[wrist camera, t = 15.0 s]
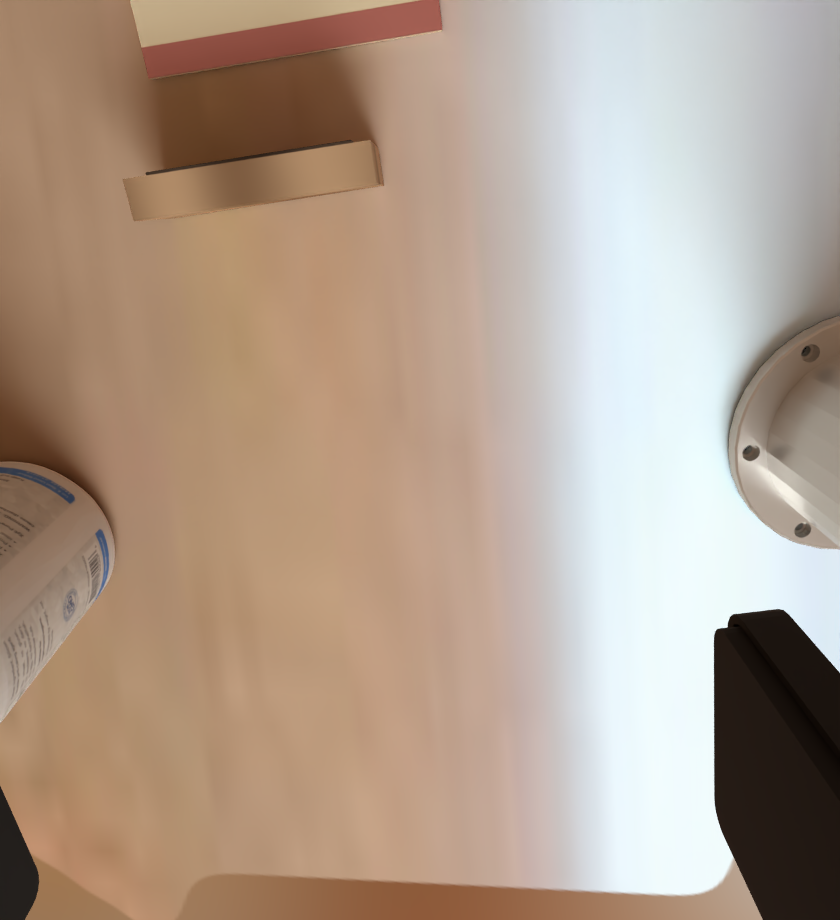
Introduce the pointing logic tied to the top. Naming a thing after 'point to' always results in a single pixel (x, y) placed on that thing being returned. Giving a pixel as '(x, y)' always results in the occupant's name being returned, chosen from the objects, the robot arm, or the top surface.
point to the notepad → (267, 29)
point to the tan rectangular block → (254, 180)
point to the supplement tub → (45, 569)
